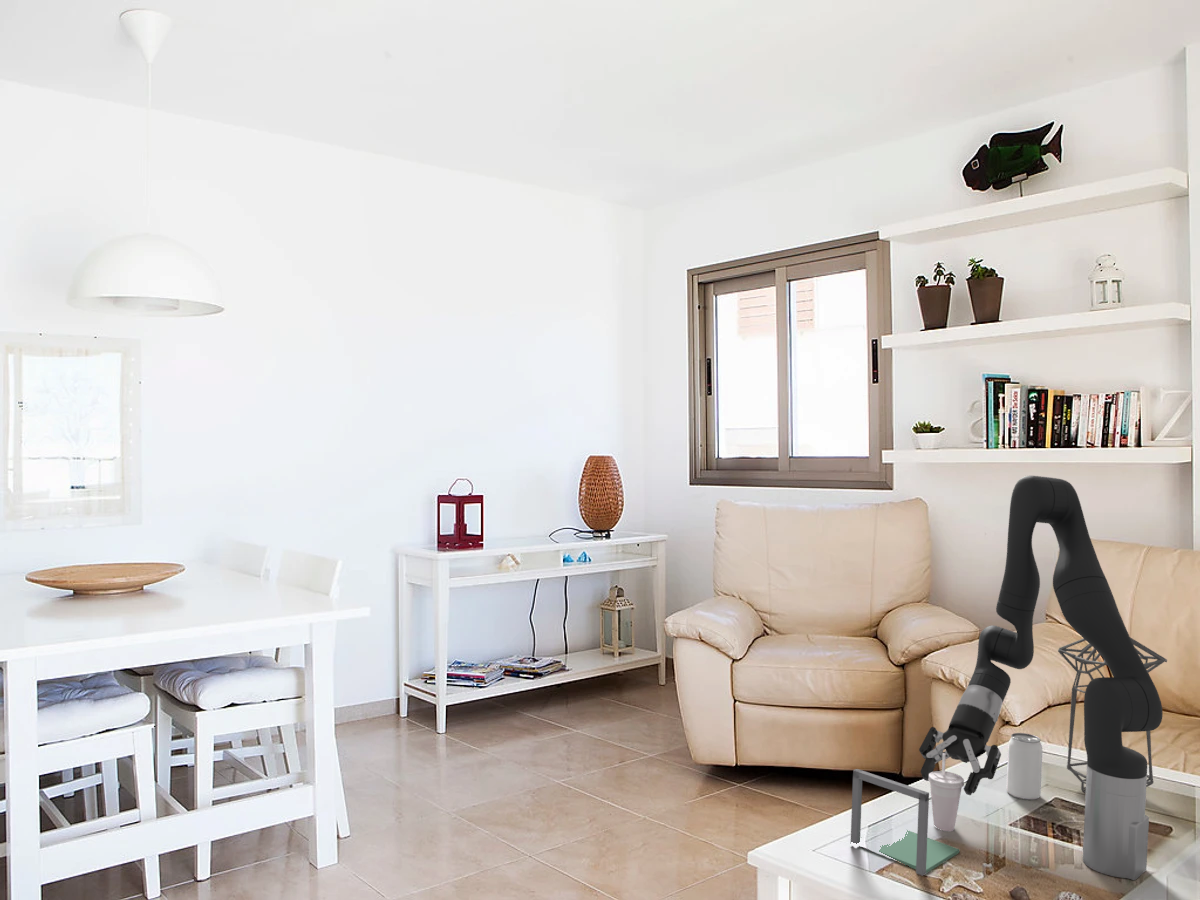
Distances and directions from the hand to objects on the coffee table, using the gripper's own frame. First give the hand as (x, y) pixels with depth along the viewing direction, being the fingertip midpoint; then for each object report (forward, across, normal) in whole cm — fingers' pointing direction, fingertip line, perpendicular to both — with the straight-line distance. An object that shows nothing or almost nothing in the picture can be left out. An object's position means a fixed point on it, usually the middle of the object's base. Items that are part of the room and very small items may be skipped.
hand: (945, 785), depth 181 cm
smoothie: (+6, 0, +6) cm, 8 cm away
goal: (+16, 0, -4) cm, 16 cm away
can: (-14, +3, +25) cm, 29 cm away
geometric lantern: (-24, +14, +35) cm, 45 cm away
